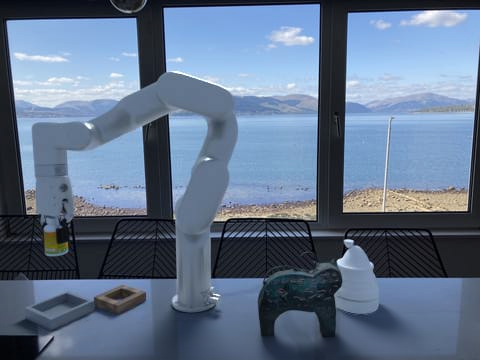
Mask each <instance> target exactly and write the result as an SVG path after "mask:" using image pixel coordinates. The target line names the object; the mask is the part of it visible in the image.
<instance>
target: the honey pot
mask: <svg viewBox="0 0 480 360" xmlns="http://www.w3.org/2000/svg"><path fill="white" fill-rule="evenodd" d="M354 242H355V241H354V240H352V239H343V243H344V245H345V247H346V248H348V249H347V250H346V252H345V253H344V255H343V257H342V258H341V257H340V258H339V259H336V261H337V264H338V267H339V269H340V271H341V274H342V280H343V282H342V286H341V288H340V289H339V290H338V291H337V292H336V293H335V294H334V297H335V305H336V307H337V308H339V309H342V310H344V311H347V312H351V313H359V314H360V313H363V314H365V313H371V312H374V311H376V310H377V309H379V308H378V307H380V305H379V302H380V288H379V285H378V281H377V279H376V275H375V273H374V271H373V270H374V268H375V267H374V263H373V262H371V261H370V260H369V257H368V255H367V254H366V253H365V251H364V249H362V248H361V247H360V246H359V245H355V244H354ZM337 308H336V309H337ZM339 309H338V310H339ZM344 311H343V312H344ZM377 311H378V310H377ZM347 312H346V313H347ZM351 313H350V314H351ZM374 313H375V312H374ZM371 314H372V313H371ZM365 315H366V314H365Z"/></svg>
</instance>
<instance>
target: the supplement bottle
mask: <svg viewBox="0 0 480 360" xmlns="http://www.w3.org/2000/svg"><path fill="white" fill-rule="evenodd" d="M62 219H63V218H60V221H62ZM46 223H47V224H48V225H46V226H45V227H44V240H43V241H44V254H45V255H46V256H47V257H59V256H63V255H65V254H67V253H68V252H69V243H68V242H65V243H61V244H57V241H56V228H58V227H57V224H56V220H55V217H52V216H48V217H46Z"/></svg>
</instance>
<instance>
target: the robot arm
mask: <svg viewBox="0 0 480 360" xmlns="http://www.w3.org/2000/svg"><path fill="white" fill-rule="evenodd" d="M235 104H236V103H235V98H234V96H233V93H232V92H231V91H230V90H229V89H227V88H226V87H224V86H222V85H220V84H217V83H215V82H211V81H208V80H206V79H205V80H204V79H201V78H199V77H195V76H192V75H189V74H187V73H183V72H180V71H175V70H174V71H173V70H172V71H167V72H164V73H163V74H161V75H160V76H159V78H158V79H157V81H155V82H154V83H151V84H150V85H147V86H145V87H143V88H140V89H138V90H136V91H134V92H132V93H130V94H128V95H125V96H123V97H121V99H119V101H118V102H117V103H116V104H115V105H114V106H113V107H112V108H111V109H109V110H108V111H106V112H104V113H102V114H101V115H98V116H96V117H94V118H92V119H90V120H88V121H87V120H86V121H80V120H78V121H77V120H75V121H67V122H56V121H54V122H52V121H48V122H47V121H41V122H39V121H38V122H35V123H33V124H32V125H31V139H32V142H31V143H32V154H33V169H34V178H35V207H36V209H35V212H36V213H37V215H38V218H39V219H40V226H41V232H42V233H41V235H42V240H43V241H44V227H45V226H46V225H48V224H47V223H46V217H48V216H52V217H55V220H56V224H57V227H58V228H56V241H57V244H61V243H65V242H70V227H71V222H72V219H74V217H75V214H74V213H75V200H74V193H73V187H72V183H71V178H70V176H69V165H68V151H70V152H71V151H72V152H86V151H91V150H95V149H97V148H99V147H101V146H104V145H105V144H108V143H110V142H112V141H114V140H116V139H118V138H120V137H122V136H124V135H125V134H128V133H131V132H133V131H137V129H140V128H141V127H143V126H145V125H148V124H150V123H152V122H153V121H155V120H158V119H159V118H162V117H164V116H166V115H169V114H170V113H172V112H174V111H177V110H178V109H180V110H182V111H186V112H188V113H192V114H194V115H198V116H202V118H203V119H204V120H205V121H206V126H207V132H206V135H205V138H204V140H203V143H202V146H201V149H200V150H199V153H198V156H196V157H197V158H196V159H195V162H194V163H193V165H192V167H191V170H190V179H189V181H188V183H187V186H186V189H185V191H184V193H183V194H182V195H181V196H180V197H179V198H178V199H177V201H176V203H175V206H174V222H175V224H174V225H175V249H176V251H175V255H176V258H175V259H176V260H175V261H176V286H177V287H176V291H177V293H176V294H175V295H174V296H173V297H172V299H171V305H172V307H173V308H174V309H175V310H177V311H180V312H183V313H199V312H205V311H208V310H210V309H212V308H213V307H214V306H217V307H218V306H220V304H221V300H222V295H221V294H218V293H215V287H214V286H212V275H211V274H212V272H211V271H212V270H211V268H212V265H211V262H212V261H211V249H212V248H211V246H212V245H211V226H212V225H213V223H214V221H215V218H216V216H217V214H218V211H219V210H220V207H221V204H222V202H223V200H224V197H225V195H226V192H227V190H228V187H229V184H230V177H231V176H230V172H229V169H228V167H229V166H228V165H229V163H230V161H231V158H232V156H233V153H234V150H235V147H236V144H237V142H238V138H239V137H238V136H239V125H238V120H237V116H236V114H235V112H234V110H235ZM60 218H63V219H62V221H60Z"/></svg>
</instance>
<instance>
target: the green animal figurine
mask: <svg viewBox="0 0 480 360" xmlns="http://www.w3.org/2000/svg"><path fill="white" fill-rule="evenodd" d="M305 255H312V256H314V258H315V260H312V264H313V267H312V268H311V269H304V268H303V269H302V268H297V267H295V266H291V265H279V266H275V267H273V268H271V269H269V270H268V271H267V272H266V274H265V275H264V277H263V281H262V286H261V288H260V291H259V293H258V297H257V311H258V321H259V329H260V336H261V337H269V338H270V337H274V336H275V324H276V321H277V319H278V318H279V316H281V315H282V314H283V313H286V312H289V311H290V312H291V311H297V312H304V313H305V312H306V313H314V314H315V315H316V317H317V321H318V325H319V333H320V334H321V337H328V336H329V337H330V336H331V337H335V336H336V329H337V308H336V305H335V297H334V294H335V293H336V292H337V291H338V290H339V289H340V288H341V286H342V282H343V280H342V274H341V271H340V269H339V267H338V264H337V259H336V258H333V259H332V260H331V261H330V262H321V263H319V262H318V261H317V257H316V254H315V253H314V252H311V251H305V252H303V253H301V255H300V258H301V259H302V258H303V256H305ZM283 268H291V269H285V270H280V271H276V272H275V273H273V274H271V275H269V274H270V273H271V272H273V271H275V270H278V269H283ZM268 275H269V277H268V278H267V276H268ZM266 278H267V279H266Z"/></svg>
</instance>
